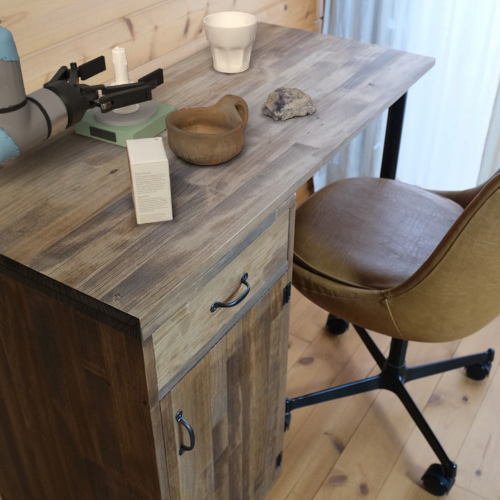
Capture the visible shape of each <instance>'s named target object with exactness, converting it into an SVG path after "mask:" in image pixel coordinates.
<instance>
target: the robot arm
mask: <svg viewBox="0 0 500 500" xmlns="http://www.w3.org/2000/svg"><path fill="white" fill-rule="evenodd" d="M69 66H70V67H69V68H68V66H67V65H62V66H60V67H59V68H58V70H57V71H55V73H54V75H52V77H51V79H50V80H49V81H47V82H45V83H43V84H42V86H43V87H42V88H37V89H36V90H34V91H32V92H30V93H28V94H27V93H26V88H25V83H24V77H23V73H22V65H21V58H20V56H19V52H18V48H17V44H16V42H15V40H14V35H13V34H12V32H11V31H10V30H9V29H8V28H7V27H3V25H2V26H1V25H0V165H2V164H4V163H7V162H8V161H11V160H13V159H16V158H17V159H18V158H19V157H20V156H21V155H22V154H24V153H25V152H27V151H29V150H30V149H32V148H34V147H36V146H38V145H39V144H41V143H42V142H45V141H48V140H49V139H50V138H52V137H54V136H56V135H57V134H59V133H61V132H63V131H65V130H67V129H69V128H71V127H74V125H75V124H76V123H78V122H80V121H81V120H82V119H83V117H84V115H85V113H86V112H87V111H88V110H90V109H92V108H95V107H99V108H100V109H101V113H108V112H110V111H112V110H114V109H118V108H122V107H126V106H130V105H134V104H138V103H142V102H146V101H150V100H151V101H153V93H152V92H153V90H155V89H157V88H158V87H160V86H161V85H163V84H164V82H165V79H164V69H163V68H161V67H158V68H157V69H154V70H152V72H149V73H148V74H146V75H144V76H142V77H140V78H138V79H137V82H135V83H128V84H121V85H113V86H110V85H105V84H103V83H99V84H93V85H92V84H91V85H90V84H86V83H83V82H85V81H87V80H88V79H91V78H92V77H95V76H97V75H99V74H102V73H104V72H105V71H107V64H106V57H105V55H99V56H97V57H95V58H93V59H90V60H89V61H86V62H83V63H82V64H80V65H78V63H77V62H76V61H75V62H70V63H69ZM80 81H82V82H81V83H80ZM99 91H101V97H100V94H99Z"/></svg>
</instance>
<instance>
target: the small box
mask: <svg viewBox="0 0 500 500" xmlns="http://www.w3.org/2000/svg"><path fill="white" fill-rule="evenodd" d="M125 148H126V157H127V165H128V173H129V179H130V180H129V182H130V190H131V197H132V202H133V207H134V213H135V214H134V215H135V219H136V224H137V225H144V224H151V223H161V222H168V221H173V219H174V218H173V204H172V191H171V189H172V188H171V177H170V163H169V159H168V157H167V153H166V150H165V145H164V140H163V137H162V136H154V137H153V138H144V139H133V140H126V147H125Z"/></svg>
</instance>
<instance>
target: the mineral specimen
mask: <svg viewBox="0 0 500 500" xmlns="http://www.w3.org/2000/svg"><path fill="white" fill-rule="evenodd" d="M267 96H268V97H267V99H266V101H264V102H263V104H262V105H261V114H264V115H266V116H269V117H272V119H273V120H274V121H276V122H277V121H279V120H280V121H281V122H283V121H286V120H288V119H292V118H293V117H298V116H299V117H303V116H306V115H307V114H308V115H312V114H313V113H315V112H316V110H317V106H316V104H315V102H314V100H313V99H312V96H310V94H308V93H306V92H304V91H303V90H301V89H298V88H297V87H293V88H289V87H284V86H283V87H278V88H276V89H274V90H273V91H272V92H271V93H269V94H268V95H267Z"/></svg>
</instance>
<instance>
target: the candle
mask: <svg viewBox="0 0 500 500" xmlns="http://www.w3.org/2000/svg"><path fill="white" fill-rule="evenodd" d="M111 58H112V61H111V62H112V66H113V73H114V81H112V82H111V83H110V84H109V86H113V85H121V84H128V83H136V82H135V81H134V80H130V76H129V75H130V74H129V67H128V60H127V59H128V58H127V52H126V48H125V47H119V45H116V46H115V47H114V48H112V49H111ZM139 108H140V106H139V105H138V104H134V105H130V106H126V107H122V108H118V109H114V110H112V111H113V112H115V113H118V114H130V113H133V112H136V111H137V110H139Z"/></svg>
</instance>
